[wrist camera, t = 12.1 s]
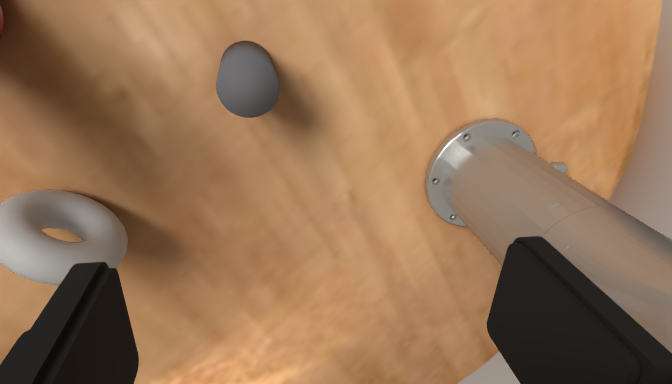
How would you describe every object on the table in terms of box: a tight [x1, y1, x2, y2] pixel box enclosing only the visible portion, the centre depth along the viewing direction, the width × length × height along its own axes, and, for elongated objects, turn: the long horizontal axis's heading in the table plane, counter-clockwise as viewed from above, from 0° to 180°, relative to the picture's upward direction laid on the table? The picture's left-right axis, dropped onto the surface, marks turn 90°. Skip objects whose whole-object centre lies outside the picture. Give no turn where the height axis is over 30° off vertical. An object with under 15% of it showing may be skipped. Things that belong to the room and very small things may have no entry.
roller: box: [216, 41, 279, 118], centre depth 32 cm, size 4×4×7 cm
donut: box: [0, 189, 128, 285], centre depth 34 cm, size 10×4×10 cm, turn 56°
